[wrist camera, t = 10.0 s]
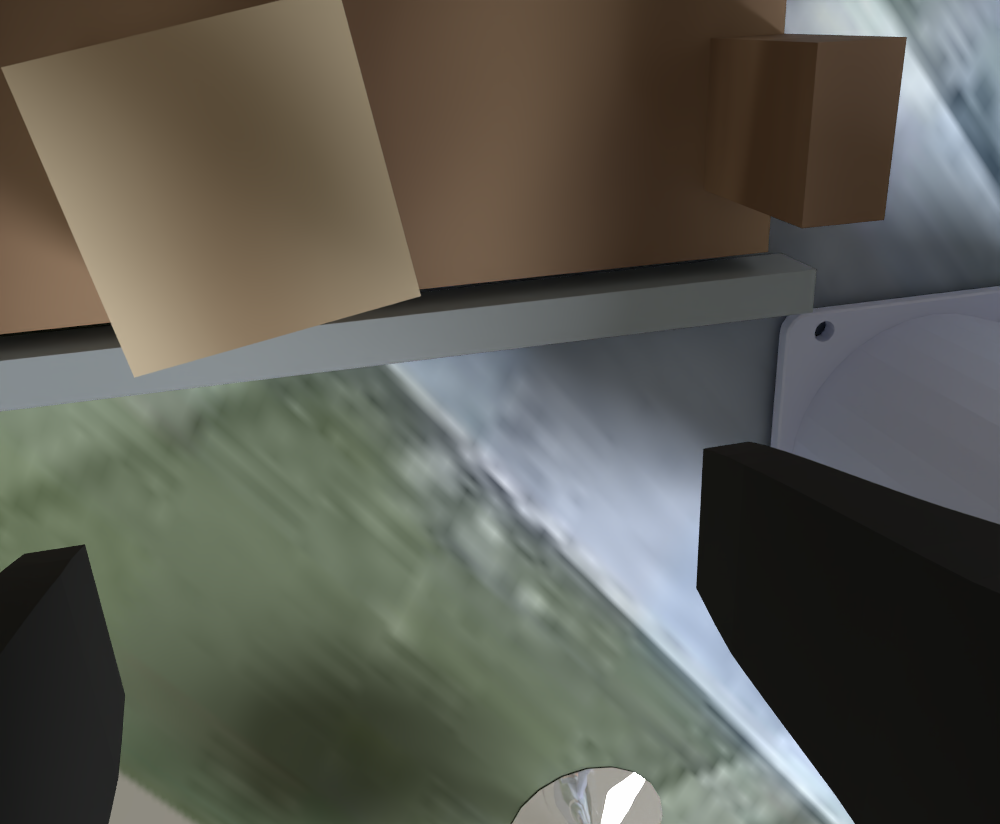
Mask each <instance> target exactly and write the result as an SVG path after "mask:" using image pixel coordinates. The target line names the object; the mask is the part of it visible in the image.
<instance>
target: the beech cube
mask: <svg viewBox="0 0 1000 824" xmlns="http://www.w3.org/2000/svg"><path fill="white" fill-rule="evenodd" d="M1 69H2V71H3V73H4V76H5V78H6V80H7V83H8V85H9V87H10V90H11V92H12V94H13V97H14V99H15V101H16V104H17V106H18V108H19V111H20V113H21V115H22V118H23V120H24V122H25V125H26V127H27V129H28V132H29V134H30V136H31V139H32V141H33V143H34V146H35V148H36V150H37V153H38V155H39V157H40V160H41V162H42V164H43V166H44V169H45V171H46V173H47V176H48V178H49V180H50V183H51V185H52V187H53V190H54V192H55V194H56V197H57V199H58V201H59V204H60V206H61V208H62V211H63V213H64V215H65V218H66V220H67V222H68V225H69V227H70V229H71V232H72V234H73V236H74V239H75V241H76V243H77V246H78V248H79V250H80V253H81V255H82V257H83V259H84V262H85V264H86V266H87V269H88V271H89V273H90V276H91V278H92V280H93V283H94V285H95V287H96V290H97V292H98V294H99V297H100V299H101V301H102V304H103V306H104V308H105V311H106V313H107V315H108V318H109V320H110V322H111V325H112V327H113V329H114V332H115V334H116V336H117V339H118V341H119V343H120V346H121V348H122V350H123V352H124V355H125V357H126V359H127V362H128V364H129V366H130V369H131V371H132V373H133V376H134V378H135V377H138V376H142V375H145V374H149V373H153V372H156V371H160V370H163V369H167V368H170V367H174V366H177V365H181V364H184V363H188V362H191V361H195V360H198V359H202V358H205V357H209V356H212V355H216V354H219V353H223V352H226V351H230V350H233V349H237V348H240V347H244V346H247V345H251V344H254V343H258V342H261V341H265V340H268V339H272V338H275V337H279V336H283V335H286V334H290V333H293V332H297V331H300V330H304V329H307V328H311V327H314V326H318V325H321V324H325V323H328V322H332V321H335V320H339V319H342V318H346V317H349V316H353V315H356V314H360V313H363V312H367V311H370V310H374V309H377V308H381V307H384V306H388V305H391V304H395V303H398V302H402V301H405V300H409V299H413V298H416V297H420V296H421V294H420V290H419V286H418V283H417V279H416V275H415V272H414V268H413V264H412V260H411V257H410V253H409V249H408V245H407V242H406V238H405V234H404V231H403V227H402V223H401V219H400V216H399V212H398V208H397V205H396V201H395V197H394V193H393V190H392V186H391V182H390V178H389V175H388V171H387V167H386V164H385V160H384V156H383V152H382V149H381V145H380V141H379V138H378V134H377V130H376V126H375V123H374V119H373V115H372V111H371V108H370V104H369V100H368V97H367V93H366V89H365V85H364V82H363V78H362V74H361V71H360V67H359V63H358V59H357V56H356V52H355V48H354V44H353V41H352V37H351V33H350V30H349V26H348V22H347V18H346V15H345V11H344V7H343V4H342V0H279V1H275V2H271V3H267V4H263V5H258V6H254V7H250V8H246V9H242V10H238V11H234V12H229V13H225V14H221V15H217V16H213V17H209V18H205V19H200V20H196V21H192V22H188V23H184V24H180V25H175V26H171V27H167V28H163V29H159V30H155V31H151V32H146V33H142V34H138V35H134V36H130V37H126V38H122V39H117V40H113V41H109V42H105V43H101V44H97V45H93V46H88V47H84V48H80V49H76V50H72V51H68V52H63V53H59V54H55V55H51V56H47V57H43V58H39V59H34V60H30V61H26V62H22V63H18V64H14V65H10V66H5V67H1Z"/></svg>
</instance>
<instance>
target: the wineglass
mask: <svg viewBox="0 0 1000 824" xmlns="http://www.w3.org/2000/svg"><path fill="white" fill-rule="evenodd" d="M662 816H663V815H662V808H661V800H660V797H659V795H658V794H657V792H656V791H655V789H654V788H653V786H652V784H651V783H650V782H648V781H647V780H645V779H644V778H642V777H641V776H639V775H637V774H636V773H634V772H630V771H626V770H621V769H617V768H613V767H612V768H596V769H586V770H583V771H580V772H577V773H573V774H570V775H567V776H564V777H561V778H560V779H558V780H556V781H555V782H553V783H551V784H550V785H548V786H546V787H545V788H543V789H541V790H539V791H538V792H537V793H536V794H535V795H534V796H533V797H532V798H531V799H530V800H529V801H528V802H527V803H526V804H525V805H524V806H523V807H522V808H521V809H520V811H519V813H518V815H517V816H516V818H515V820H514V822H513V823H512V824H661V820H662Z"/></svg>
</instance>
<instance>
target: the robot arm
mask: <svg viewBox="0 0 1000 824" xmlns="http://www.w3.org/2000/svg"><path fill="white" fill-rule="evenodd" d="M824 321H825V323H826V326H825V329H824V331H823V332H822V333H821V334H820V335H819V336H816V337H815V330H816V327H817V326H818V325H819V324H820V323H822V322H824ZM696 588H697V590H698V592H699V594H700V596H701V598H702V600H703V602H704V604H705V606H706V608H707V610H708V612H709V614H710V616H711V618H712V620H713V621H714V623H715V625H716V627H717V629H718V631H719V632H720V634H721V636H722V638H723V640H724V641H725V643H726V645H727V647H728V649H729V650H730V652H731V654H732V655H733V657H734V658H735V659H736V661H737V662H738V664H739V665H740V667H741V668H742V669H743V671H744V672H745V674H746V675H747V676H748V678H749V679H750V680H751V682H752V683H753V685H754V686H755V687H756V689H757V690H758V691H759V693H760V694H761V696H762V697H763V698H764V700H765V701H766V702H767V704H768V705H769V706H770V708H771V709H772V710H773V712H774V713H775V715H776V716H777V717H778V719H779V720H780V721H781V723H782V724H783V725H784V727H785V728H786V729H787V731H788V732H789V733H790V735H791V736H792V737H793V739H794V740H795V741H796V743H797V744H798V745H799V747H800V748H801V749H802V751H803V752H804V754H805V755H806V756H807V758H808V759H809V760H810V762H811V763H812V764H813V766H814V767H815V768H816V770H817V771H818V772H819V774H820V775H821V776H822V778H823V779H824V780H825V782H826V783H827V784H828V786H829V787H830V788H831V790H832V791H833V793H834V794H835V795H836V797H837V798H838V799H839V801H840V802H841V804H842V805H843V807H844V808H845V810H846V811H847V813H848V814H849V816H850V817H851V819H852V820H853V822H854V823H855V824H1000V286H994V287H986V288H978V289H970V290H961V291H953V292H945V293H937V294H928V295H920V296H912V297H904V298H895V299H887V300H879V301H870V302H862V303H854V304H846V305H837V306H829V307H821V308H813V312H812V313H803V314H795V315H789V316H788V317H786V319H785V320H784V322H783V323H782V326H781V329H780V336H779V348H778V361H777V373H776V385H775V397H774V410H773V422H772V434H771V446H770V447H769V446H766V445H762V444H757V443H753V442H744V443H737V444H731V445H725V446H718V447H712V448H705V449H703V468H702V487H701V507H700V527H699V546H698V566H697V586H696ZM124 701H125V693H124V689H123V686H122V682H121V678H120V674H119V671H118V667H117V663H116V659H115V656H114V652H113V648H112V644H111V641H110V637H109V633H108V629H107V626H106V622H105V618H104V614H103V611H102V607H101V603H100V599H99V596H98V592H97V588H96V584H95V581H94V577H93V573H92V569H91V566H90V562H89V558H88V554H87V551H86V547H85V545H79V546H72V547H66V548H59V549H53V550H46V551H40V552H33V553H27V554H24V555H22V556H21V557H20V558H18V559H17V560H16V561H14V562H13V563H12V564H10V565H9V566H8V567H7V568H5V569H4V570H3V571H2V572H1V573H0V824H108V823H109V819H110V814H111V810H112V805H113V800H114V796H115V791H116V786H117V781H118V775H119V764H120V754H121V743H122V730H123V716H124Z"/></svg>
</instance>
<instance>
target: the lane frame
mask: <svg viewBox="0 0 1000 824" xmlns="http://www.w3.org/2000/svg"><path fill="white" fill-rule="evenodd" d="M816 271H817V269H815V268H813V267H810V266H808V265H806V264H804V263H802V262H799V261H797V260H795V259H793V258H791V257H788V256H786V255H784V254H782V253H776V254H767V255H758V256H748V257H739V258H730V259H720V260H711V261H702V262H693V263H683V264H674V265H665V266H655V267H646V268H637V269H627V270H618V271H609V272H600V273H590V274H581V275H572V276H562V277H553V278H544V279H535V280H525V281H516V282H507V283H497V284H488V285H479V286H470V287H460V288H451V289H442V290H432V291H423V292H420V294H421V296H420V297H416V298H413V299H409V300H405V301H402V302H398V303H395V304H391V305H388V306H384V307H381V308H377V309H374V310H370V311H367V312H363V313H360V314H356V315H353V316H349V317H346V318H342V319H339V320H335V321H332V322H328V323H325V324H321V325H318V326H314V327H311V328H307V329H304V330H300V331H297V332H293V333H290V334H286V335H283V336H279V337H275V338H272V339H268V340H265V341H261V342H258V343H254V344H251V345H247V346H244V347H240V348H237V349H233V350H230V351H226V352H223V353H219V354H216V355H212V356H209V357H205V358H202V359H198V360H195V361H191V362H188V363H184V364H181V365H177V366H174V367H170V368H167V369H163V370H160V371H156V372H153V373H149V374H145V375H142V376H138V377H135V378H134V376H133V373H132V371H131V369H130V366H129V364H128V362H127V359H126V357H125V355H124V352H123V350H122V348H121V346H120V343H119V341H118V339H117V336H116V334H115V332H114V329H113V327H112V325H107V326H98V327H89V328H79V329H70V330H61V331H52V332H42V333H33V334H24V335H14V336H5V337H0V411H8V410H16V409H24V408H32V407H40V406H49V405H57V404H65V403H73V402H81V401H90V400H98V399H106V398H114V397H122V396H131V395H139V394H147V393H155V392H163V391H172V390H180V389H188V388H196V387H204V386H213V385H221V384H229V383H237V382H245V381H254V380H262V379H270V378H278V377H286V376H295V375H303V374H311V373H319V372H328V371H336V370H344V369H352V368H360V367H369V366H377V365H385V364H393V363H401V362H410V361H418V360H426V359H434V358H442V357H451V356H459V355H467V354H475V353H483V352H492V351H500V350H508V349H516V348H524V347H533V346H541V345H549V344H557V343H565V342H574V341H582V340H590V339H598V338H606V337H615V336H623V335H631V334H639V333H647V332H656V331H664V330H672V329H680V328H688V327H697V326H705V325H713V324H721V323H730V322H738V321H746V320H754V319H762V318H771V317H779V316H787V315H795V314H803V313H812V312H813V303H814V292H815V282H816Z"/></svg>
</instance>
